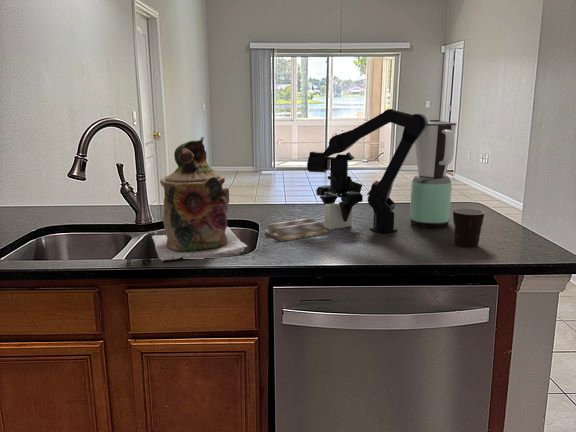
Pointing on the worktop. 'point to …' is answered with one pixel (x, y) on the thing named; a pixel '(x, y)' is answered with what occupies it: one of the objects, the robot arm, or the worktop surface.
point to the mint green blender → (433, 175)
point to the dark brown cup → (467, 227)
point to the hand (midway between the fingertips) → (338, 219)
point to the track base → (296, 229)
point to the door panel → (335, 217)
